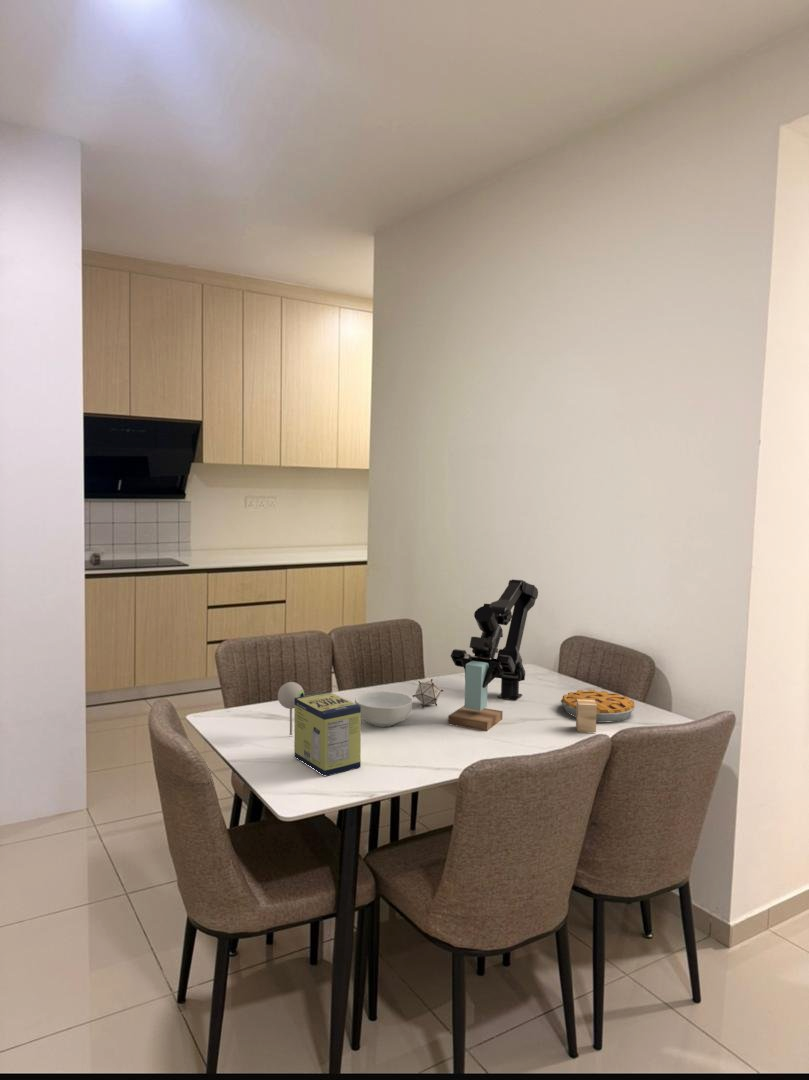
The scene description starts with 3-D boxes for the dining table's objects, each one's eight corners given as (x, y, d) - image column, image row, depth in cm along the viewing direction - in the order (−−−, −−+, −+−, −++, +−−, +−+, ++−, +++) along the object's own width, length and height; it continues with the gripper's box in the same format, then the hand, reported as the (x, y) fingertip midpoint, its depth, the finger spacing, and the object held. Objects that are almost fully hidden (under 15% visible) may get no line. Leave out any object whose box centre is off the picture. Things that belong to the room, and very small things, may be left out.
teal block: (471, 703, 224) (472, 660, 222) (487, 706, 221) (488, 662, 220) (464, 708, 219) (465, 664, 218) (480, 711, 217) (481, 666, 216)
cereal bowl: (405, 734, 209) (406, 709, 208) (347, 729, 212) (347, 705, 212) (417, 715, 226) (417, 692, 225) (363, 711, 229) (363, 688, 228)
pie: (602, 729, 216) (603, 712, 215) (546, 710, 233) (546, 694, 233) (649, 716, 229) (650, 699, 228) (592, 698, 246) (593, 683, 246)
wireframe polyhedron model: (421, 718, 235) (402, 693, 234) (432, 702, 242) (414, 677, 241) (442, 709, 230) (422, 683, 229) (452, 693, 236) (433, 668, 236)
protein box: (328, 749, 197) (329, 690, 196) (361, 767, 184) (362, 705, 183) (293, 757, 191) (293, 697, 189) (324, 777, 178) (324, 712, 177)
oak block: (576, 726, 217) (576, 699, 217) (593, 727, 217) (594, 700, 216) (577, 732, 212) (578, 704, 212) (595, 733, 212) (596, 705, 211)
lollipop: (296, 742, 201) (296, 687, 200) (272, 738, 204) (272, 684, 203) (308, 734, 208) (308, 680, 207) (285, 730, 211) (285, 677, 209)
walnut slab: (464, 714, 229) (465, 704, 228) (502, 721, 223) (502, 711, 223) (448, 725, 218) (448, 715, 218) (487, 732, 213) (487, 722, 212)
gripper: (453, 622, 226) (437, 666, 217) (512, 628, 218) (498, 675, 209) (463, 643, 234) (448, 687, 225) (521, 650, 225) (507, 696, 216)
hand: (474, 685), depth 219 cm, fingers closed on teal block, 5 cm apart
